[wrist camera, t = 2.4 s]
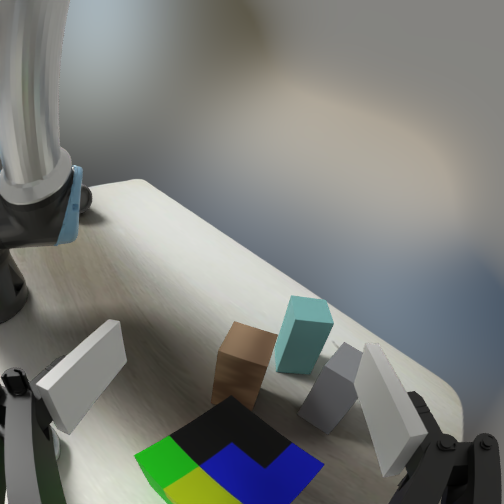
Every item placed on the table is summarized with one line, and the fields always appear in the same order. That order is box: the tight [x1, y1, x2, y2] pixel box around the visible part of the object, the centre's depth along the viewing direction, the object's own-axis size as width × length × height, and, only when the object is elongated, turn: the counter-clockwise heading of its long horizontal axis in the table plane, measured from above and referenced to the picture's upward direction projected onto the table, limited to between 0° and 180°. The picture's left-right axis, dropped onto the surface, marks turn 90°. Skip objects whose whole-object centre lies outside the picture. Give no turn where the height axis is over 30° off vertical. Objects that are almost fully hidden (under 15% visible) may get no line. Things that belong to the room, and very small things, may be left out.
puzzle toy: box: [134, 395, 325, 504], centre depth 18 cm, size 10×10×10 cm
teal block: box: [275, 295, 334, 374], centre depth 37 cm, size 5×5×10 cm
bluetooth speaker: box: [79, 184, 92, 214], centre depth 73 cm, size 23×9×10 cm, turn 59°
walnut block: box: [211, 321, 278, 412], centre depth 30 cm, size 5×5×10 cm
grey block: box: [297, 342, 363, 434], centre depth 29 cm, size 5×5×10 cm
